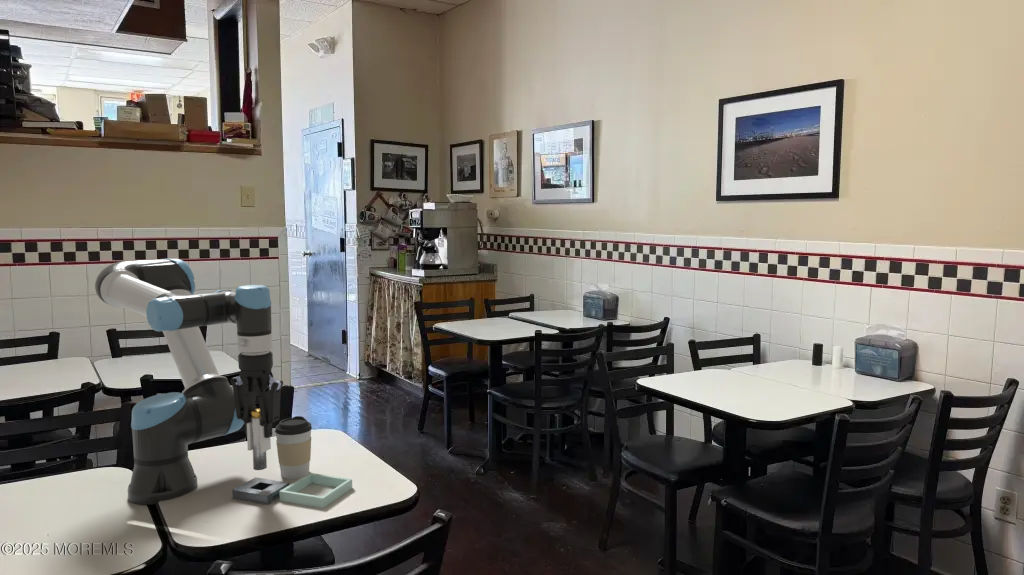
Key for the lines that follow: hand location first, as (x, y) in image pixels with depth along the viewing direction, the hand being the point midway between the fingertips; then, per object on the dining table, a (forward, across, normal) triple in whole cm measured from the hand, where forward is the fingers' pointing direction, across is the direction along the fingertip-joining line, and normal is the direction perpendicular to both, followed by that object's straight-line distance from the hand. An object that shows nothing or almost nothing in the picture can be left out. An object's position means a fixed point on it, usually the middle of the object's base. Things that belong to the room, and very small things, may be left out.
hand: (259, 449), depth 162 cm
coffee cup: (+12, -1, +14) cm, 19 cm away
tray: (+12, +12, +5) cm, 18 cm away
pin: (+5, 0, 0) cm, 5 cm away
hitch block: (+12, 0, 0) cm, 12 cm away
